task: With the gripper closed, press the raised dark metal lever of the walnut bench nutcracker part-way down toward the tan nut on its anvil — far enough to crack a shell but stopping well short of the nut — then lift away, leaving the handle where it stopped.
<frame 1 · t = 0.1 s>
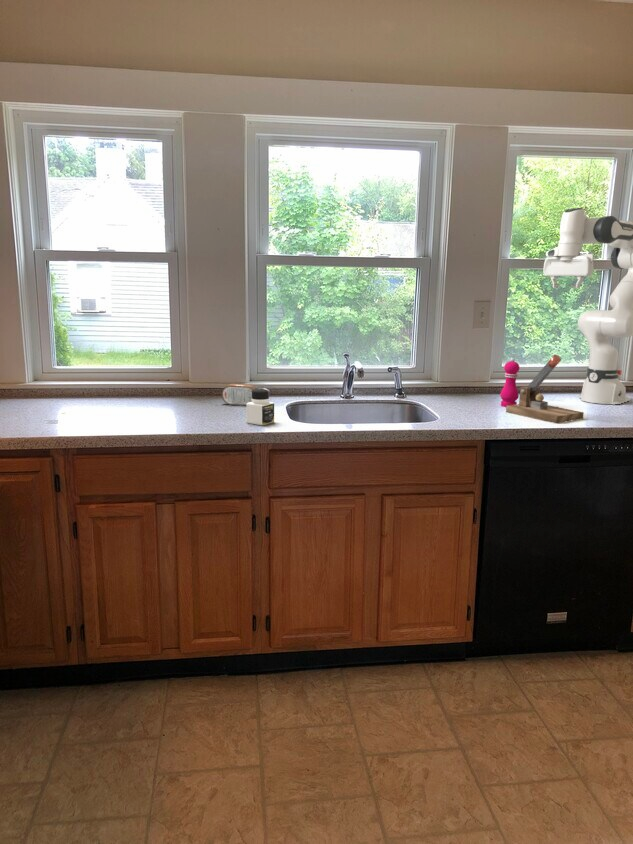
hand: (565, 288, 247), 48 cm above the worktop, tool pointing down, fingers open, 8 cm apart
pepper mill: (508, 406, 260), on the worktop
medicine bottle: (260, 423, 222), on the worktop
tin: (240, 405, 253), on the worktop
bench: (543, 415, 243), on the worktop
lever: (540, 377, 242), point 14 cm above the worktop, hinge at 52.0°
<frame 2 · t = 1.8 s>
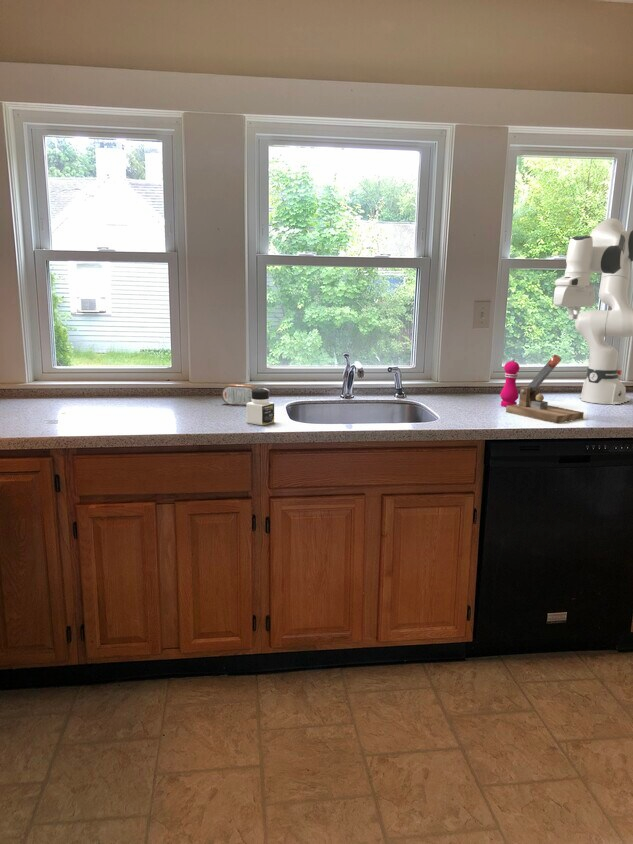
hand: (572, 319, 235), 37 cm above the worktop, tool pointing down, fingers closed
nothing on the worktop moved.
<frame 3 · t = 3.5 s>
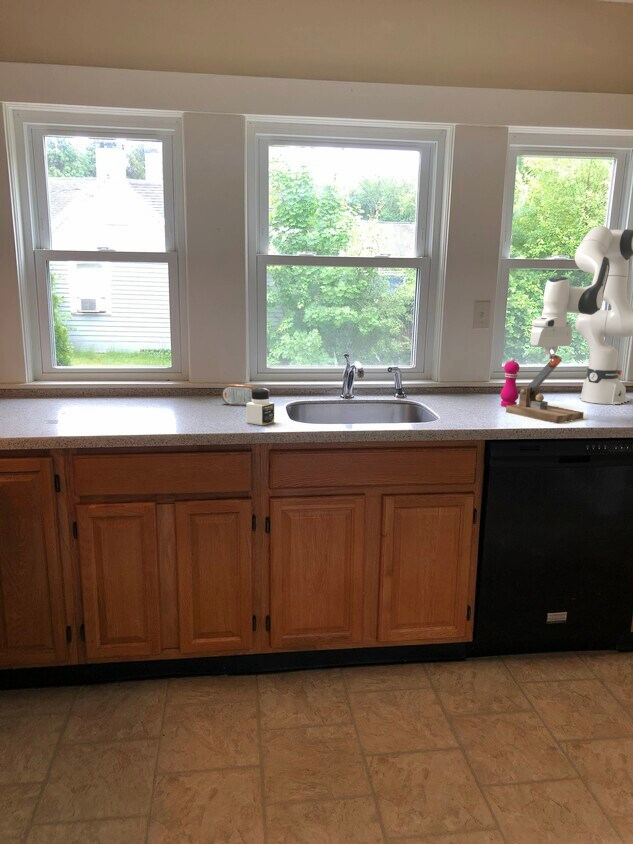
hand: (549, 358, 237), 22 cm above the worktop, tool pointing down, fingers closed, pressing on lever
lever: (541, 377, 242), point 14 cm above the worktop, hinge at 50.8°, touching gripper
everything else where it was.
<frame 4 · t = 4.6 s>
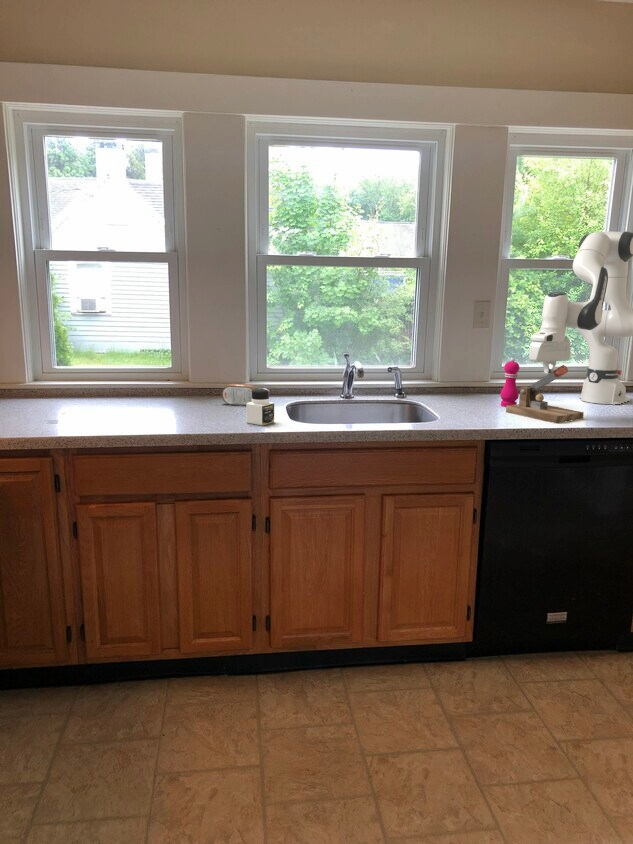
hand: (548, 373, 238), 16 cm above the worktop, tool pointing down, fingers closed, pressing on lever
lever: (543, 381, 241), point 13 cm above the worktop, hinge at 35.3°, touching gripper
everything else where it was.
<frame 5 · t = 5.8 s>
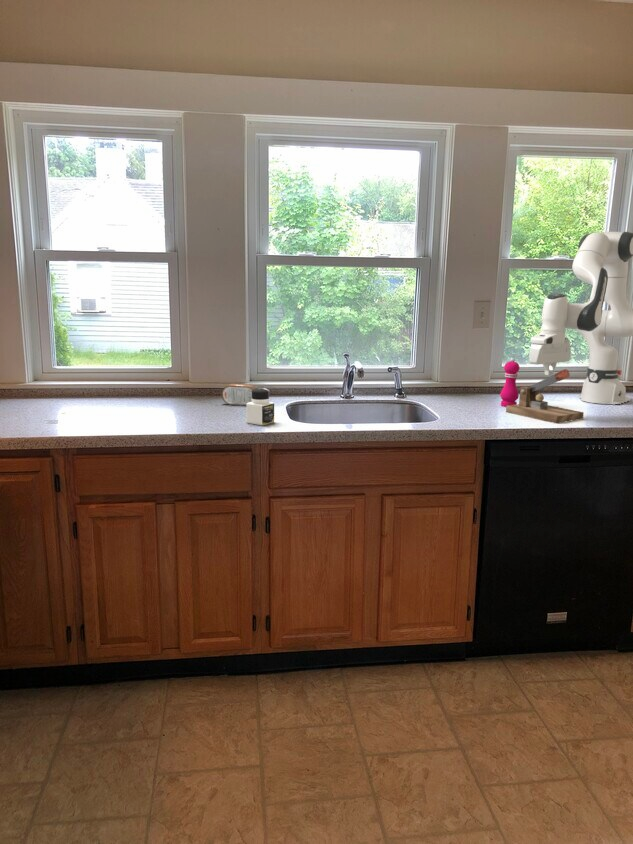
hand: (548, 374, 239), 16 cm above the worktop, tool pointing down, fingers closed
lever: (544, 383, 241), point 12 cm above the worktop, hinge at 29.8°
everything else where it was.
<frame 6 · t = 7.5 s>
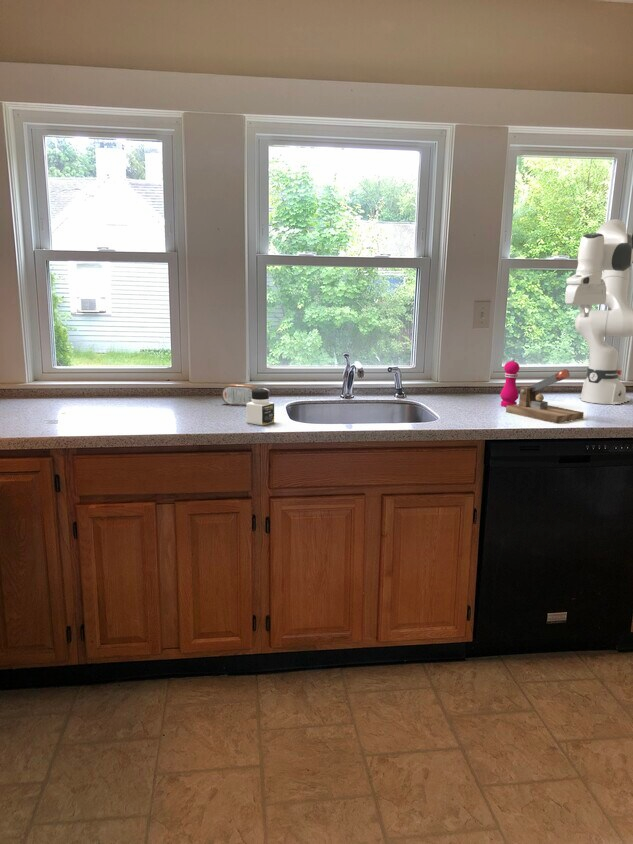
hand: (584, 317, 235), 38 cm above the worktop, tool pointing down, fingers closed
nothing on the worktop moved.
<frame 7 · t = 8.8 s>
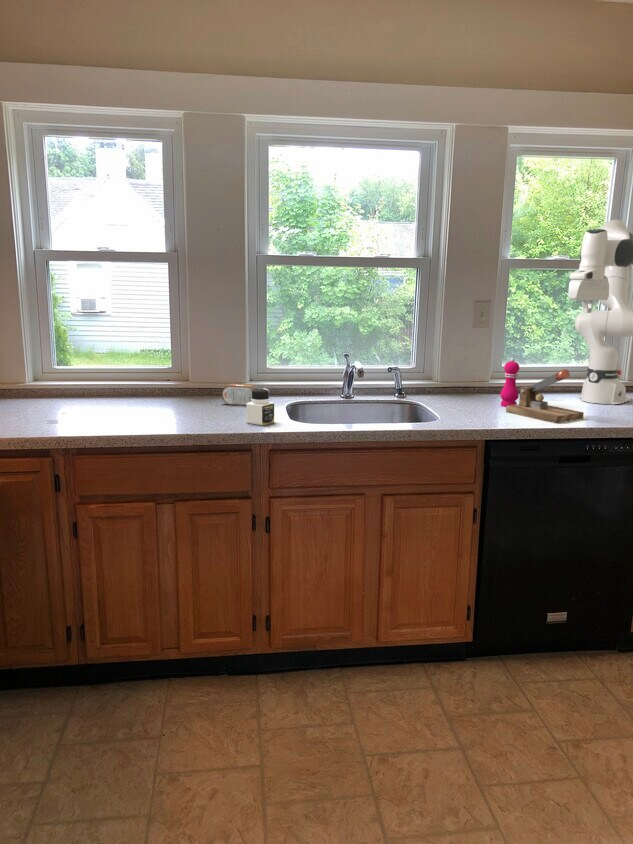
hand: (587, 312, 235), 39 cm above the worktop, tool pointing down, fingers closed
nothing on the worktop moved.
at the end: lever at +30° (first picture: +52°); the gripper is holding nothing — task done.
